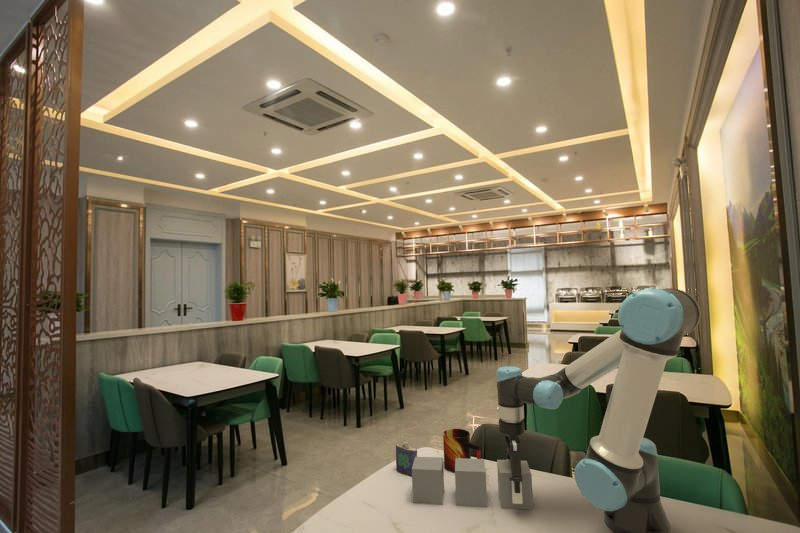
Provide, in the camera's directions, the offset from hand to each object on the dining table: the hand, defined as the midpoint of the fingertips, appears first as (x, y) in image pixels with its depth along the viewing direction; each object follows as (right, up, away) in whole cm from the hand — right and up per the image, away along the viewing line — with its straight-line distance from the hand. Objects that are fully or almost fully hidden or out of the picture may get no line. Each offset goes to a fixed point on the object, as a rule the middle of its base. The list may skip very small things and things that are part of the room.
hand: (514, 491), depth 118 cm
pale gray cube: (-13, -3, +2) cm, 13 cm away
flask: (-32, -5, +20) cm, 39 cm away
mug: (-12, -5, +23) cm, 26 cm away
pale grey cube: (0, -3, 0) cm, 3 cm away
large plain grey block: (-26, -4, +4) cm, 26 cm away
